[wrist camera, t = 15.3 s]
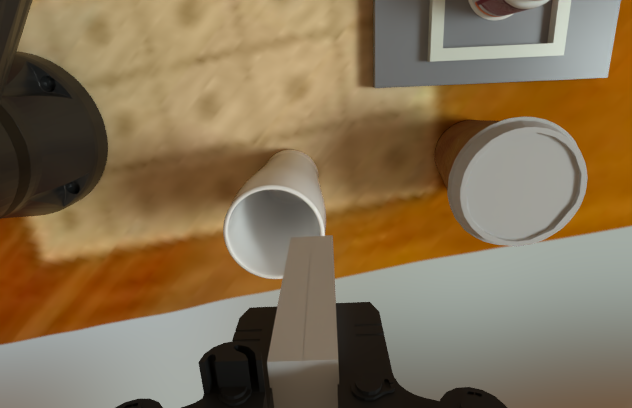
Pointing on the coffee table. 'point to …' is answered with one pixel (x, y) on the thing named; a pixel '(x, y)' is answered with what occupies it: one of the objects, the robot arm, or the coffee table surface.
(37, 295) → the coffee table surface
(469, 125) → the disposable coffee cup
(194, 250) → the coffee table surface
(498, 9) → the pill bottle
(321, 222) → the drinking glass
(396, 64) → the socket plate
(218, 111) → the coffee table surface
